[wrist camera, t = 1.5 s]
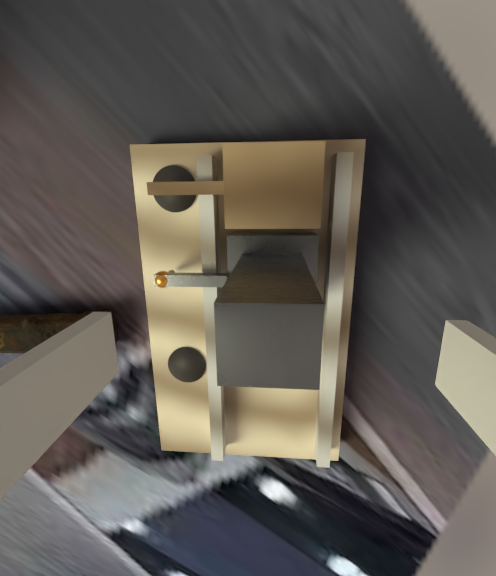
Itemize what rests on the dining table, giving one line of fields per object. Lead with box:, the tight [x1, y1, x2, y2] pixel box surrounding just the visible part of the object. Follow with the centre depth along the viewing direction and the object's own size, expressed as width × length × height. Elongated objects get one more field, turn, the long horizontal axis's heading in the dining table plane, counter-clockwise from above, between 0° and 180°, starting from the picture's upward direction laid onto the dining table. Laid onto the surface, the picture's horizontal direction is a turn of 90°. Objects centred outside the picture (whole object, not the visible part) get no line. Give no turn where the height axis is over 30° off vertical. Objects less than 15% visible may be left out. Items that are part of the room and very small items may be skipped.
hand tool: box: [0, 309, 118, 353], centre depth 27 cm, size 19×4×5 cm, turn 90°
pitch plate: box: [130, 139, 366, 468], centre depth 24 cm, size 26×16×5 cm, turn 1°
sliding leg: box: [154, 232, 325, 390], centre depth 18 cm, size 6×11×12 cm, turn 90°
